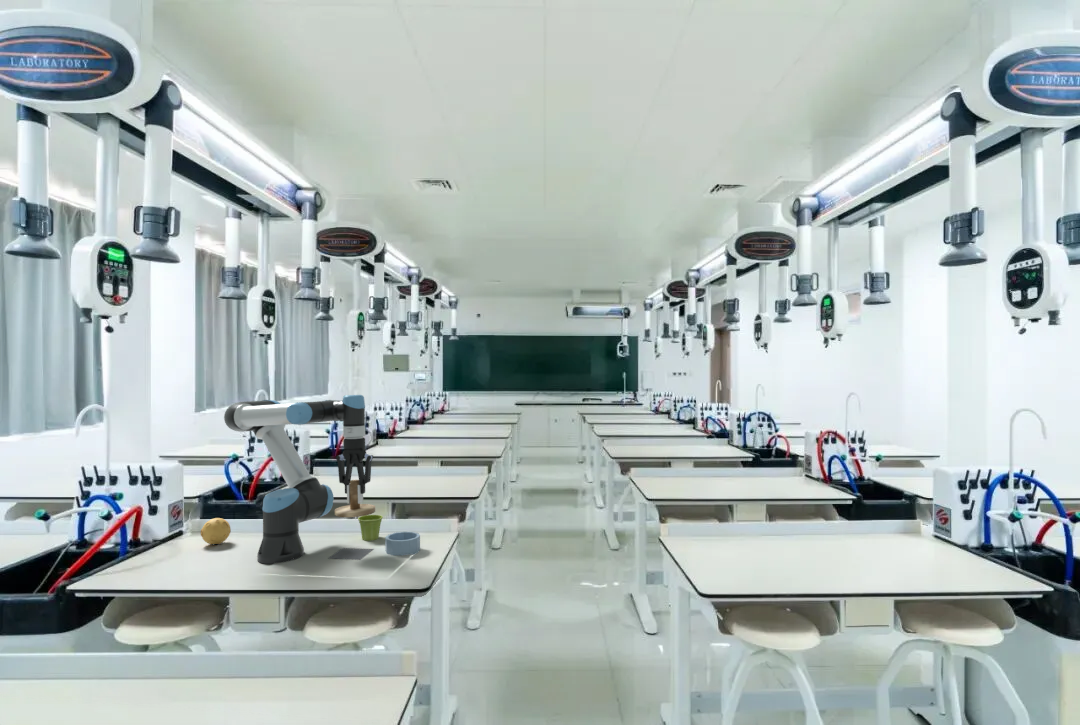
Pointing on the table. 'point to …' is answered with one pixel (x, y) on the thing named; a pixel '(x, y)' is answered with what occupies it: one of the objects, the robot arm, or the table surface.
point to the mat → (350, 553)
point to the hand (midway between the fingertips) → (355, 502)
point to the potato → (215, 531)
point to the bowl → (402, 543)
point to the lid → (354, 504)
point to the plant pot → (370, 526)
